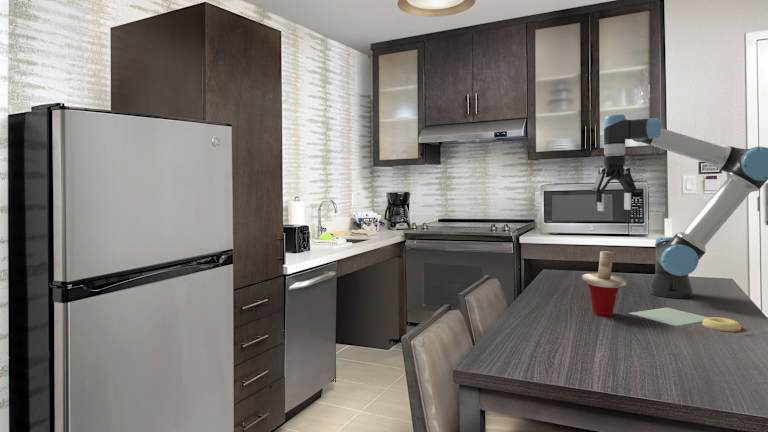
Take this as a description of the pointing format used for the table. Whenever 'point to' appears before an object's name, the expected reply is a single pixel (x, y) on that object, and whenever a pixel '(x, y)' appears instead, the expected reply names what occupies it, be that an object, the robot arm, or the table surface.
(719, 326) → the donut
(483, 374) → the table surface
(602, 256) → the lid
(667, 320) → the mat
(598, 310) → the plastic cup
